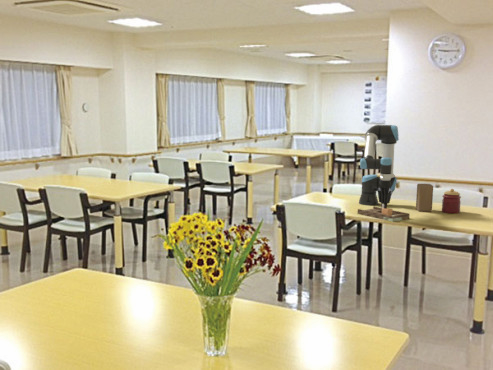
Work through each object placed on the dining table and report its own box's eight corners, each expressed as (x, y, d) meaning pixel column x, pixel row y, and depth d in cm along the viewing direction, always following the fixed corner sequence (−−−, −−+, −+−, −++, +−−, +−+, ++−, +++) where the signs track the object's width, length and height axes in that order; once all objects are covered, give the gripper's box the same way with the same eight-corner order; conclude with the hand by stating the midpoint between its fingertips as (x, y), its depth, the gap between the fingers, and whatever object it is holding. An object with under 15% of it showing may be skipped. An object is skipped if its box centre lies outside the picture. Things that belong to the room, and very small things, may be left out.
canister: (447, 214, 389) (449, 190, 386) (438, 210, 402) (439, 187, 399) (463, 213, 391) (465, 189, 389) (453, 210, 404) (455, 187, 401)
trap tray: (357, 213, 388) (357, 209, 388) (373, 211, 399) (374, 206, 398) (392, 221, 362) (392, 216, 362) (409, 218, 373) (409, 213, 372)
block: (428, 209, 406) (430, 183, 403) (432, 212, 396) (433, 185, 393) (415, 209, 407) (416, 183, 404) (418, 211, 397) (419, 185, 394)
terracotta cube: (381, 215, 372) (382, 208, 371) (386, 214, 375) (386, 207, 374) (387, 216, 368) (387, 209, 367) (392, 216, 371) (392, 209, 370)
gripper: (374, 179, 374) (373, 211, 377) (389, 181, 363) (387, 214, 367) (381, 178, 378) (380, 210, 382) (396, 180, 368) (394, 213, 371)
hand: (383, 212), depth 374 cm, fingers closed
